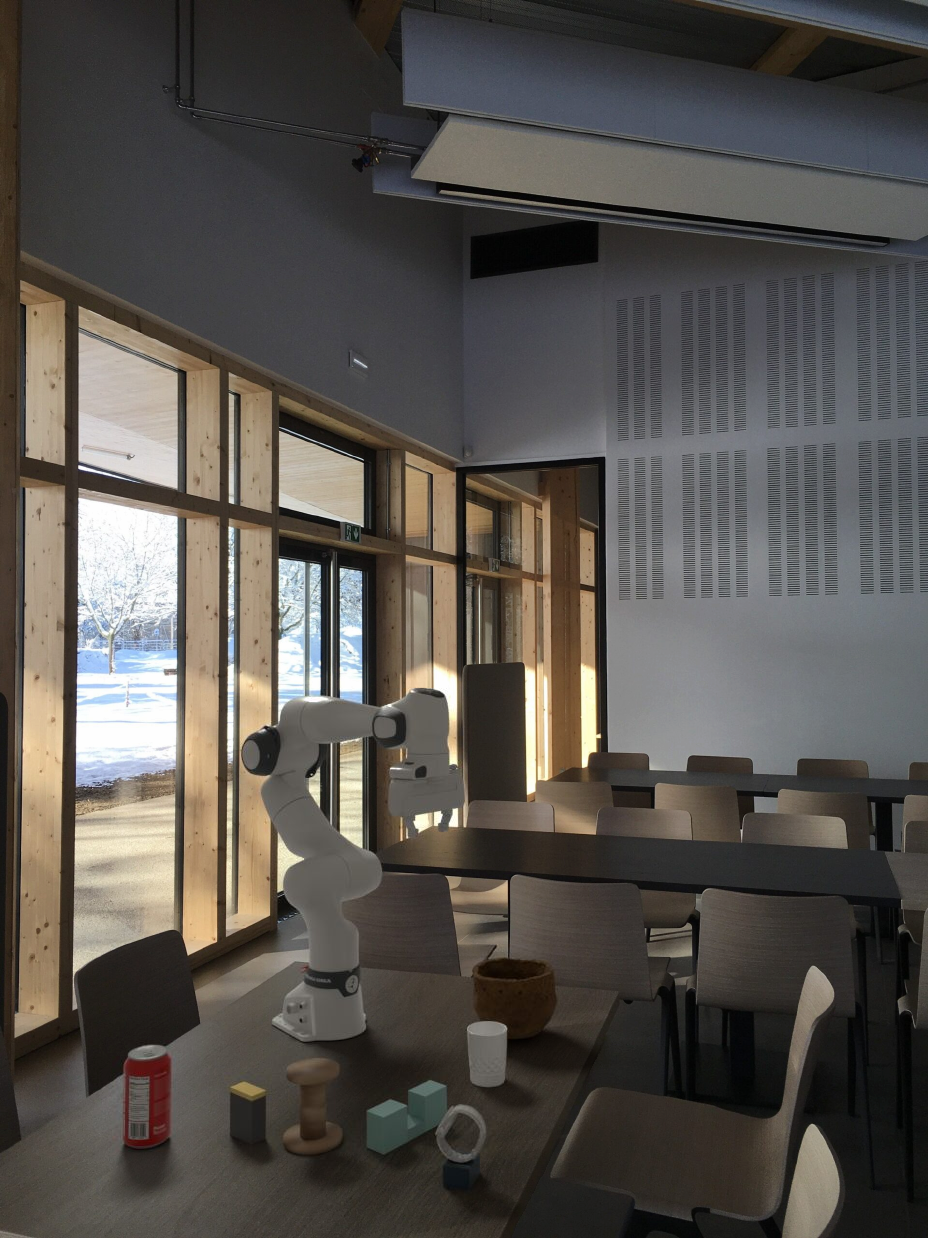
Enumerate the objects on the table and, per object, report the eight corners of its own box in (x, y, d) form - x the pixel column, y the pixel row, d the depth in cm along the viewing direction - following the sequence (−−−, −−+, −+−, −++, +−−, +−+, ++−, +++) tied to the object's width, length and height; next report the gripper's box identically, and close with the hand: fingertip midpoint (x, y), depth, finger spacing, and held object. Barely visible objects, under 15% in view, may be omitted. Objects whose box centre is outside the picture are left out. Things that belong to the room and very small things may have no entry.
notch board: (366, 1147, 163) (366, 1111, 163) (430, 1114, 175) (429, 1080, 176) (383, 1155, 161) (383, 1117, 161) (446, 1120, 173) (446, 1086, 173)
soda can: (126, 1156, 161) (127, 1064, 162) (119, 1137, 168) (120, 1048, 169) (174, 1146, 164) (175, 1055, 165) (166, 1127, 171) (167, 1040, 172)
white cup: (504, 1090, 185) (503, 1037, 186) (463, 1087, 187) (463, 1034, 187) (510, 1074, 193) (510, 1022, 194) (471, 1071, 194) (471, 1020, 195)
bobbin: (270, 1142, 165) (271, 1070, 166) (315, 1121, 173) (315, 1052, 174) (310, 1161, 159) (310, 1085, 159) (354, 1138, 166) (354, 1066, 167)
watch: (442, 1167, 156) (442, 1097, 157) (490, 1175, 154) (489, 1103, 155) (430, 1184, 151) (430, 1112, 152) (480, 1192, 149) (479, 1118, 149)
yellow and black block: (229, 1134, 168) (230, 1087, 169) (243, 1128, 171) (244, 1081, 171) (251, 1145, 164) (251, 1096, 165) (265, 1138, 167) (265, 1090, 167)
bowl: (458, 1028, 218) (457, 961, 219) (532, 1016, 225) (531, 951, 226) (493, 1058, 201) (492, 985, 202) (572, 1044, 208) (571, 973, 209)
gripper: (449, 762, 211) (449, 826, 210) (383, 770, 195) (383, 839, 194) (471, 764, 207) (472, 829, 206) (406, 771, 191) (406, 843, 190)
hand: (428, 834), depth 200 cm, fingers open, 8 cm apart
